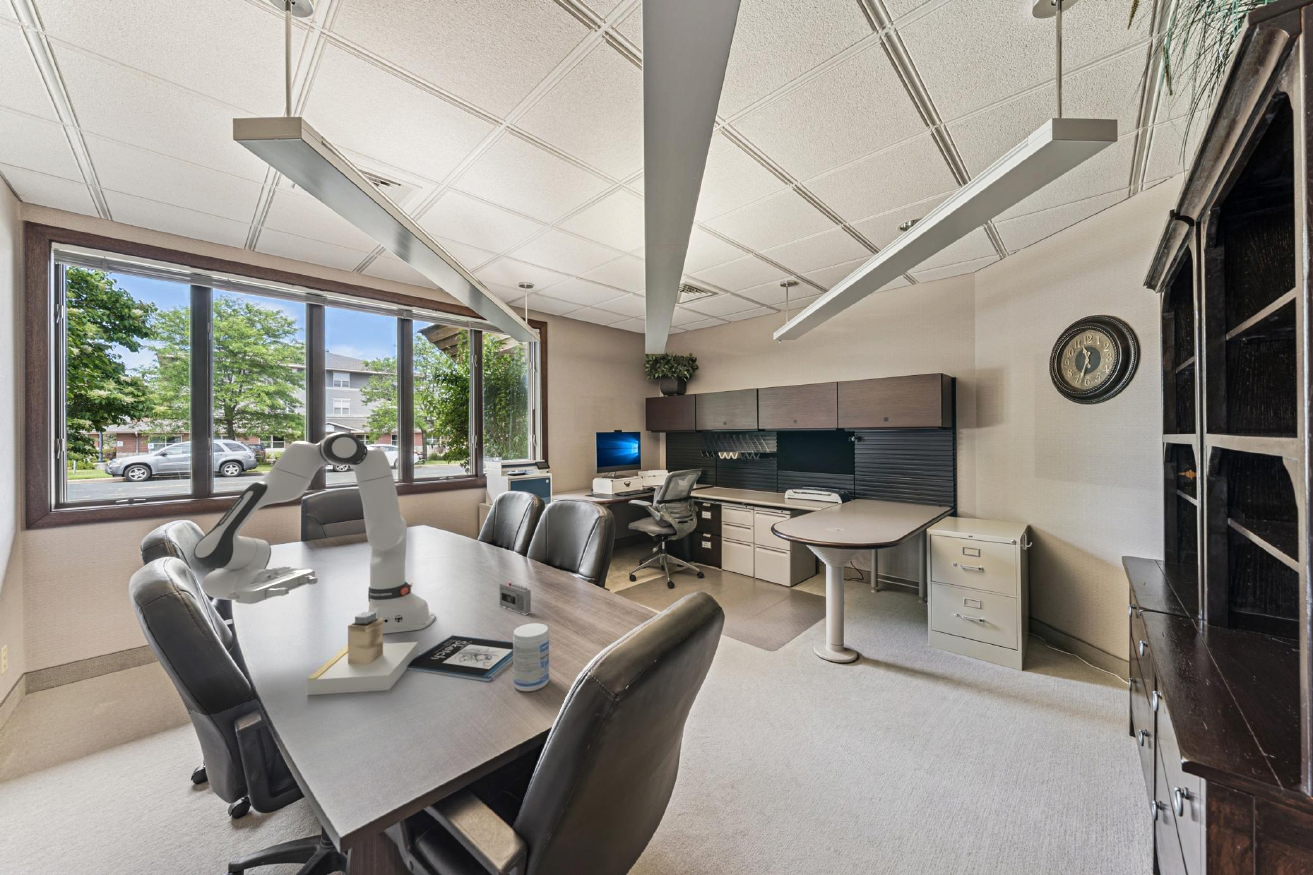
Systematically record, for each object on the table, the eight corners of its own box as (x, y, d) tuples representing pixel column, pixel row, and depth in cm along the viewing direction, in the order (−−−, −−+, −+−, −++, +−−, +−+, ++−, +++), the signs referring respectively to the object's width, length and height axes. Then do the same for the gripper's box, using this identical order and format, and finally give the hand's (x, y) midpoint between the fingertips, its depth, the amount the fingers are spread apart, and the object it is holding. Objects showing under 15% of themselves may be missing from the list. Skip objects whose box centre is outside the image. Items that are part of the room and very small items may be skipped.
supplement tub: (549, 690, 123) (549, 635, 123) (511, 695, 121) (511, 638, 121) (549, 672, 132) (549, 621, 132) (514, 676, 130) (514, 624, 130)
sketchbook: (452, 639, 156) (452, 633, 156) (532, 649, 148) (532, 643, 148) (401, 670, 135) (401, 662, 135) (492, 684, 127) (492, 676, 127)
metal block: (364, 624, 134) (364, 611, 134) (376, 625, 134) (376, 612, 134) (355, 629, 130) (355, 616, 130) (366, 630, 130) (366, 617, 130)
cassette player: (499, 606, 184) (499, 581, 184) (505, 604, 186) (505, 579, 186) (524, 615, 175) (524, 589, 175) (530, 613, 177) (530, 587, 177)
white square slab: (418, 654, 143) (418, 640, 143) (389, 690, 123) (389, 673, 123) (348, 658, 141) (348, 644, 141) (307, 695, 121) (307, 678, 121)
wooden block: (364, 653, 135) (364, 617, 135) (383, 654, 135) (382, 618, 135) (347, 663, 129) (347, 625, 129) (367, 664, 129) (367, 626, 129)
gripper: (221, 585, 126) (266, 587, 124) (290, 564, 146) (330, 565, 144) (222, 609, 126) (267, 610, 124) (291, 584, 146) (330, 585, 144)
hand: (301, 586), depth 134 cm, fingers open, 8 cm apart
